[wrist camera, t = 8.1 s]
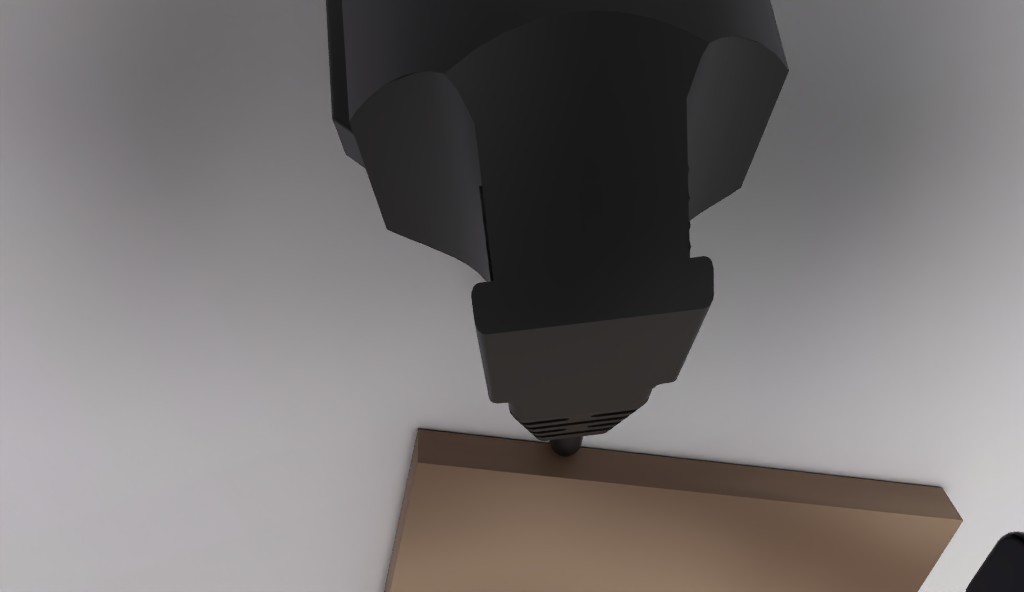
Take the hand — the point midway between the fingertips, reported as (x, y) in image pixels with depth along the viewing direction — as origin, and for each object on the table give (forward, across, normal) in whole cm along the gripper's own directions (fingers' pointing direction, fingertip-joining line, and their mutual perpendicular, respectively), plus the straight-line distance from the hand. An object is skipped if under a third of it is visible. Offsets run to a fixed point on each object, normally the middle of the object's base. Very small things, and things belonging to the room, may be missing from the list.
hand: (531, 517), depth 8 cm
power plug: (+10, -1, +1) cm, 10 cm away
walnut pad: (+9, -6, +15) cm, 19 cm away
